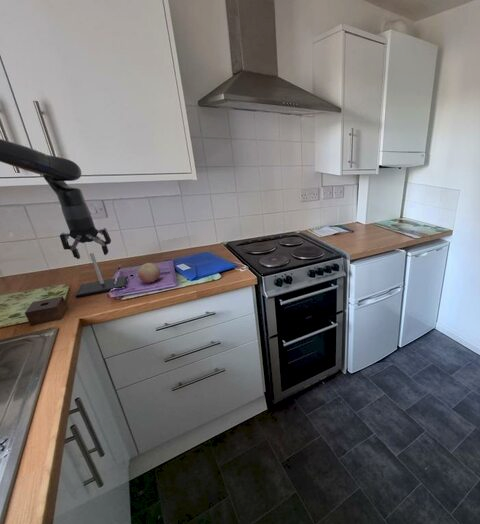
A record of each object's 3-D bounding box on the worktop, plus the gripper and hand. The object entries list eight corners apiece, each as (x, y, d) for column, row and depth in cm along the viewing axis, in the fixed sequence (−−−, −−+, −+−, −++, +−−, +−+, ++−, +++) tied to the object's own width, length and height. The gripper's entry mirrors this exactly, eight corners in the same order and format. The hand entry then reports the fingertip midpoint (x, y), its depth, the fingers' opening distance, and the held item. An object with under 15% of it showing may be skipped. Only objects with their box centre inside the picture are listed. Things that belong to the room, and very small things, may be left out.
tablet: (76, 298, 116) (75, 295, 116) (82, 286, 125) (81, 284, 124) (126, 288, 123) (125, 285, 123) (128, 278, 132) (127, 275, 132)
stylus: (101, 286, 123) (89, 254, 117) (101, 284, 124) (89, 253, 118) (104, 285, 123) (93, 253, 118) (105, 284, 124) (93, 252, 119)
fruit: (136, 283, 128) (131, 266, 125) (155, 275, 134) (150, 259, 131) (148, 287, 124) (142, 269, 121) (166, 279, 131) (161, 262, 128)
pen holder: (30, 325, 100) (24, 312, 98) (38, 313, 106) (32, 301, 104) (62, 318, 103) (56, 306, 101) (68, 308, 110) (62, 296, 108)
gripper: (49, 221, 106) (66, 263, 112) (99, 216, 112) (113, 256, 119) (55, 216, 112) (71, 256, 118) (103, 211, 118) (115, 250, 125)
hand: (92, 256), depth 118 cm, fingers open, 8 cm apart
